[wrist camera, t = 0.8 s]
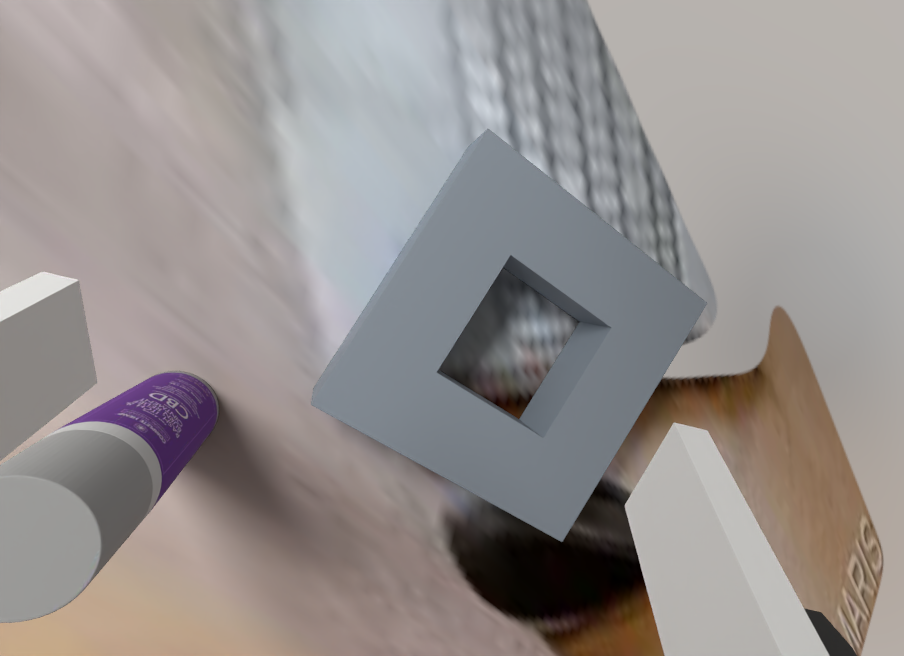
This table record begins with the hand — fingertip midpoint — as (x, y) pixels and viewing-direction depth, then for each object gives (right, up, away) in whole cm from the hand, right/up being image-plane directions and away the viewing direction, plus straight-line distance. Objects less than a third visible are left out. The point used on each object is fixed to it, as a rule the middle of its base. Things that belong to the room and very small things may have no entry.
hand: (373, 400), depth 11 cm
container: (-14, -3, +18) cm, 23 cm away
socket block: (+5, +1, +22) cm, 22 cm away
